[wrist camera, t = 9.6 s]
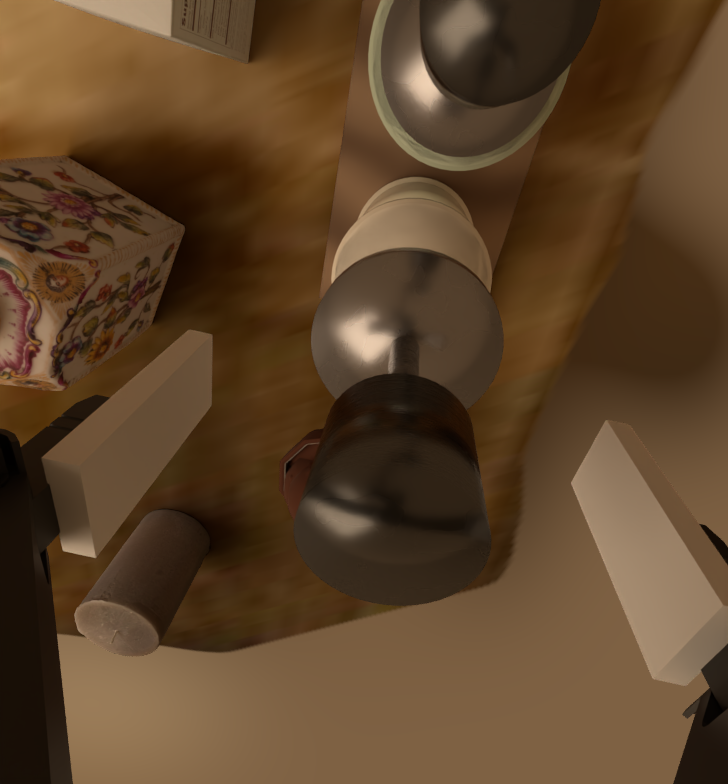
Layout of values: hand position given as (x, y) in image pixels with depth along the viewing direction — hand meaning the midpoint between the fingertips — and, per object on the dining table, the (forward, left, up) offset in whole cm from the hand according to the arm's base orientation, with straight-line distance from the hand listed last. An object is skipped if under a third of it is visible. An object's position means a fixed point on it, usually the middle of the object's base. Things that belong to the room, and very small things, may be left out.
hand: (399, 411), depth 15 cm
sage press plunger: (-7, -9, -13) cm, 17 cm away
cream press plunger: (0, 0, -6) cm, 6 cm away
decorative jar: (+26, -10, -28) cm, 39 cm away
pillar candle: (+44, +22, -28) cm, 57 cm away
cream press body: (0, 0, -26) cm, 26 cm away
